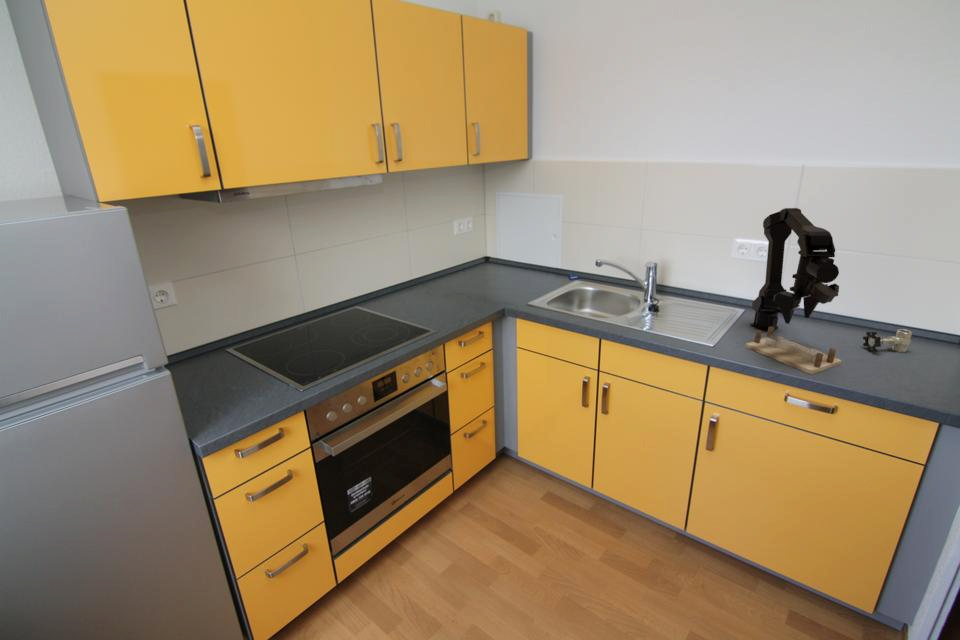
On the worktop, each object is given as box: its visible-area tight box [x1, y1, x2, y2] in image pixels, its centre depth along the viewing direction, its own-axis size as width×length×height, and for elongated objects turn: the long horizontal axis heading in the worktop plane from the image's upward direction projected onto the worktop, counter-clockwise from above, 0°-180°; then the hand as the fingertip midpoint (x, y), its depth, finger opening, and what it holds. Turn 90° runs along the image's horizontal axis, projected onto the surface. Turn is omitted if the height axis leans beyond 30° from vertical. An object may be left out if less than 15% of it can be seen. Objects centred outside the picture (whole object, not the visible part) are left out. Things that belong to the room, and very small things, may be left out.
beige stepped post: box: [765, 334, 823, 363], centre depth 157 cm, size 16×4×2 cm, turn 26°
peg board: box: [744, 327, 843, 375], centre depth 157 cm, size 22×14×5 cm, turn 26°
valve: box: [862, 328, 913, 353], centre depth 157 cm, size 7×7×12 cm
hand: (797, 320), depth 155 cm, fingers open, 9 cm apart
